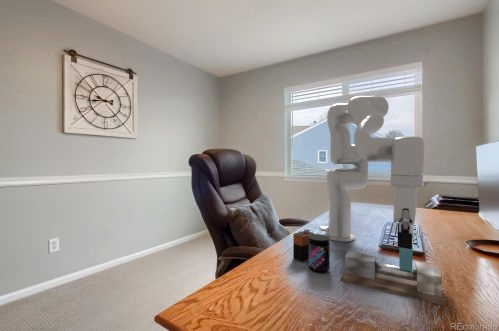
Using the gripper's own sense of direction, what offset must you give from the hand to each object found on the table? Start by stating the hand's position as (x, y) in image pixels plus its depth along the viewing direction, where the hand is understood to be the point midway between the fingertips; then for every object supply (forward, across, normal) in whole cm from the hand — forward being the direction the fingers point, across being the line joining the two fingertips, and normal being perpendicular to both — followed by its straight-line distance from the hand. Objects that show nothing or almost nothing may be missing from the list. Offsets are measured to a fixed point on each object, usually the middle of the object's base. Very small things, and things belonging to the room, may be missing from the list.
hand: (404, 242), depth 68 cm
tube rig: (+12, +1, -3) cm, 13 cm away
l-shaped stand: (+10, +1, -2) cm, 10 cm away
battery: (+13, -3, -30) cm, 33 cm away
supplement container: (+13, +3, -23) cm, 26 cm away
